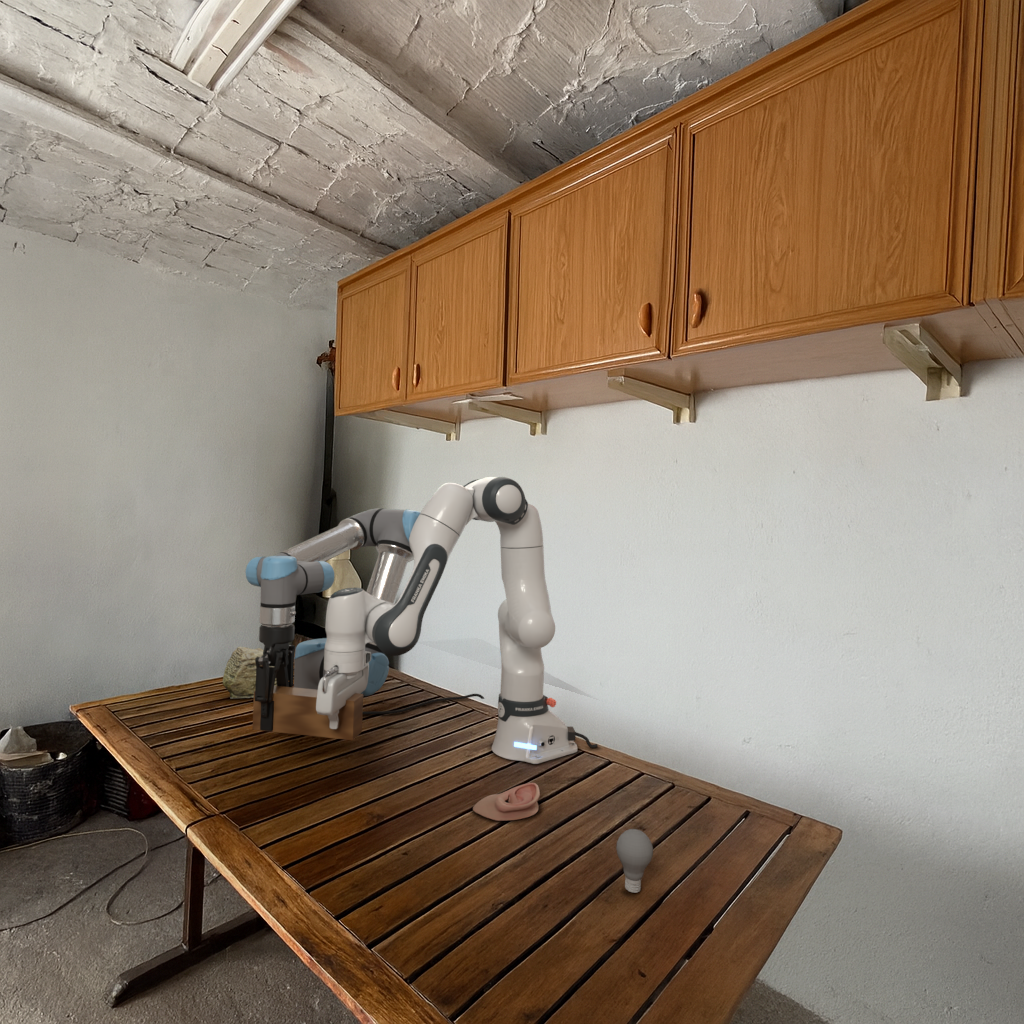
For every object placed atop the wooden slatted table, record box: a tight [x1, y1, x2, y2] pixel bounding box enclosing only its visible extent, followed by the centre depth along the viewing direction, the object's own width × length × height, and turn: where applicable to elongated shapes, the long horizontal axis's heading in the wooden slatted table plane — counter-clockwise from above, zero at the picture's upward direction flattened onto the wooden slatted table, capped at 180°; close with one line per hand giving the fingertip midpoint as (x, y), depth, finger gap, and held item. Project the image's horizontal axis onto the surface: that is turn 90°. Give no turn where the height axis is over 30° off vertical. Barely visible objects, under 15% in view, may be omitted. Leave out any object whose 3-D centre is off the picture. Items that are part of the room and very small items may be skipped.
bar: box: [252, 686, 364, 741], centre depth 143 cm, size 24×5×9 cm, turn 81°
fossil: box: [222, 646, 277, 699], centre depth 198 cm, size 9×18×15 cm, turn 132°
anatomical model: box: [472, 782, 541, 822], centre depth 132 cm, size 13×4×12 cm
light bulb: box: [615, 828, 654, 894], centre depth 106 cm, size 6×6×10 cm
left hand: (273, 725), depth 145 cm, fingers closed on bar, 5 cm apart
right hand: (341, 722), depth 142 cm, fingers open, 6 cm apart
